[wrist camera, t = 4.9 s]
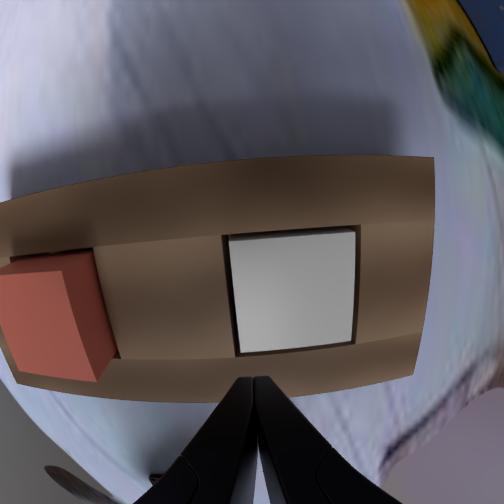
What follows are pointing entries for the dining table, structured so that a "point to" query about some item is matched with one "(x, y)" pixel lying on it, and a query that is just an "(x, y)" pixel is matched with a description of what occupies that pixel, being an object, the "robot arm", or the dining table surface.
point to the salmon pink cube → (56, 315)
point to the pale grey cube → (293, 287)
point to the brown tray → (220, 272)
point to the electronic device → (488, 26)
